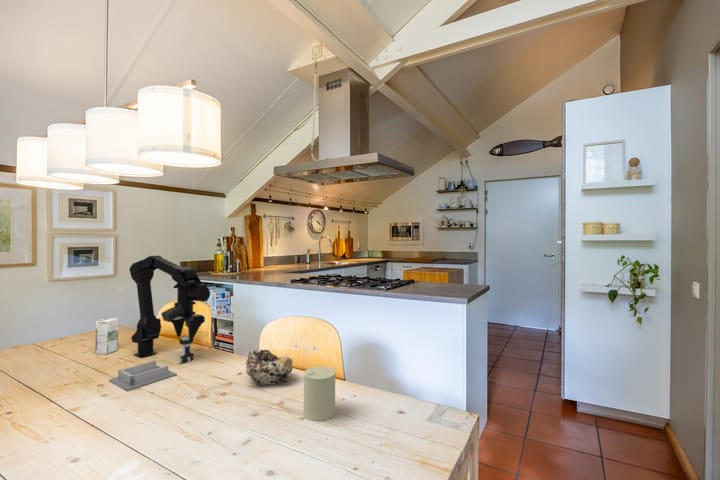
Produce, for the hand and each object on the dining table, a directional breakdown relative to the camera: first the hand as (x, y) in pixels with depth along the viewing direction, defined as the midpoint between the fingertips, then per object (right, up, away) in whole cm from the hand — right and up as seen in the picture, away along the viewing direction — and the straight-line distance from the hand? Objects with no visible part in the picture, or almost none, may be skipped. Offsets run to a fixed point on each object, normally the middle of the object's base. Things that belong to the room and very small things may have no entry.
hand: (184, 338), depth 136 cm
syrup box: (-40, -10, +11) cm, 42 cm away
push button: (0, -10, 0) cm, 10 cm away
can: (+59, -10, -40) cm, 72 cm away
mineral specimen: (+38, -10, -18) cm, 44 cm away
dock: (-6, -9, -16) cm, 20 cm away
